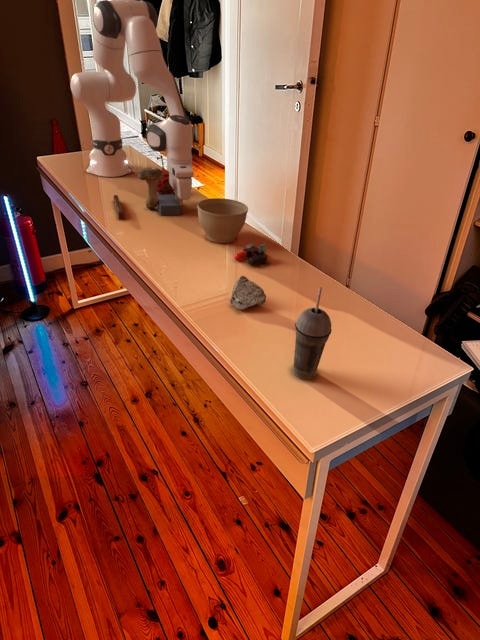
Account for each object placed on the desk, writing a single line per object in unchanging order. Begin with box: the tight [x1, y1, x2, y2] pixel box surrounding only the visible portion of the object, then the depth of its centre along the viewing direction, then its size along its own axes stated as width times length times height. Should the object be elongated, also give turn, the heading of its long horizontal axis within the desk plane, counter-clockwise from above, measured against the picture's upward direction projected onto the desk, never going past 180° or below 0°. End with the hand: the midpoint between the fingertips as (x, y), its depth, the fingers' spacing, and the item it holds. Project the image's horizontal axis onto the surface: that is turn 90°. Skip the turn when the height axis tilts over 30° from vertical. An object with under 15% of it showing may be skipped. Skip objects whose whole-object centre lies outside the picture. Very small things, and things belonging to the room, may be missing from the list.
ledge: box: [112, 194, 124, 221], centre depth 169 cm, size 18×2×2 cm, turn 18°
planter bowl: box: [196, 197, 249, 244], centre depth 154 cm, size 16×16×11 cm
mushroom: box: [137, 167, 163, 210], centre depth 169 cm, size 9×9×15 cm
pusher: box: [155, 193, 182, 216], centre depth 174 cm, size 12×7×4 cm, turn 18°
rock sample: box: [229, 275, 267, 310], centre depth 121 cm, size 10×8×9 cm
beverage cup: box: [293, 286, 332, 381], centre depth 95 cm, size 7×7×20 cm
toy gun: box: [233, 242, 269, 267], centre depth 144 cm, size 10×12×5 cm
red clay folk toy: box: [156, 152, 175, 195], centre depth 186 cm, size 8×7×15 cm
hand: (179, 203), depth 175 cm, fingers closed, pressing on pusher
